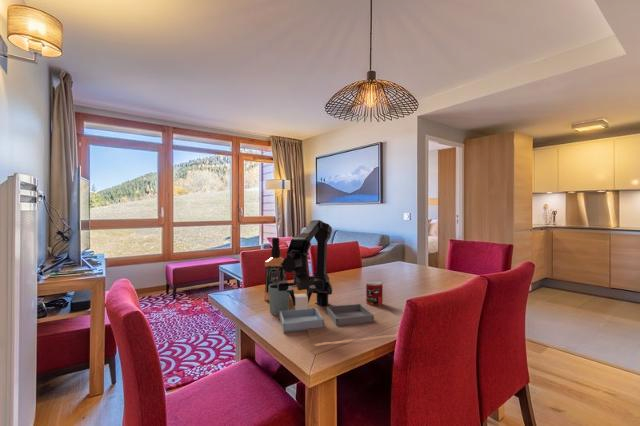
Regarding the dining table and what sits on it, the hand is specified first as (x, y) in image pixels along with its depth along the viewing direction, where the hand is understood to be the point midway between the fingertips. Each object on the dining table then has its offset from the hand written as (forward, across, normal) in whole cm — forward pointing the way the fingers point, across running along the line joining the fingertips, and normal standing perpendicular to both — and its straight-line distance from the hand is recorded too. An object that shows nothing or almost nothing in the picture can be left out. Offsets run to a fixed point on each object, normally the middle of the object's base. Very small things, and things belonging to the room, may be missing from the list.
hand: (300, 305), depth 121 cm
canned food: (+8, +39, +14) cm, 42 cm away
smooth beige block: (+1, 0, 0) cm, 1 cm away
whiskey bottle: (+8, -7, +37) cm, 39 cm away
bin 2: (+8, +21, 0) cm, 22 cm away
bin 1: (+8, 0, 0) cm, 8 cm away
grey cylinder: (+8, -7, +16) cm, 19 cm away
